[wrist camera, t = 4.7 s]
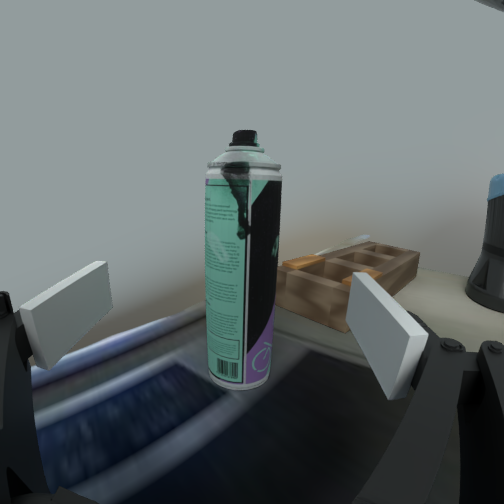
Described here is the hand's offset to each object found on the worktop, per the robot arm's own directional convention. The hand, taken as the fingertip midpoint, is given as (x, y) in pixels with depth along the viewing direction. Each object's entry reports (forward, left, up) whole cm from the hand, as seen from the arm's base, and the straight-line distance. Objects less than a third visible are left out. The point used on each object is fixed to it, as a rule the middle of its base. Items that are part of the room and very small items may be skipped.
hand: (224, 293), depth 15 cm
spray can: (+5, -6, -11) cm, 13 cm away
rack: (+8, -35, -11) cm, 37 cm away
